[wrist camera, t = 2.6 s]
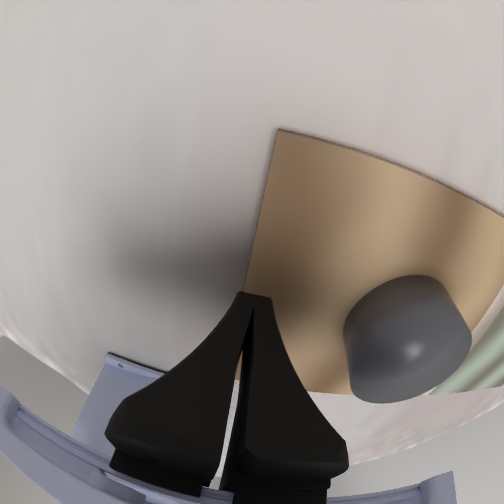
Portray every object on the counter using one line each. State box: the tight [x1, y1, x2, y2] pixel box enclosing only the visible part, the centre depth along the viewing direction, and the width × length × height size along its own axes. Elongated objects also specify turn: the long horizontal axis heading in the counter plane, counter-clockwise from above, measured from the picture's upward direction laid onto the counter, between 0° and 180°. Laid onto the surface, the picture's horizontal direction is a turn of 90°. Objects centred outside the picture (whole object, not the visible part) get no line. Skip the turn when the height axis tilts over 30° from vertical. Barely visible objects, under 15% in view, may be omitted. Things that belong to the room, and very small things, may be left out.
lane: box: [235, 129, 504, 395], centre depth 12 cm, size 28×14×1 cm, turn 80°
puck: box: [343, 275, 472, 403], centre depth 11 cm, size 6×6×3 cm
